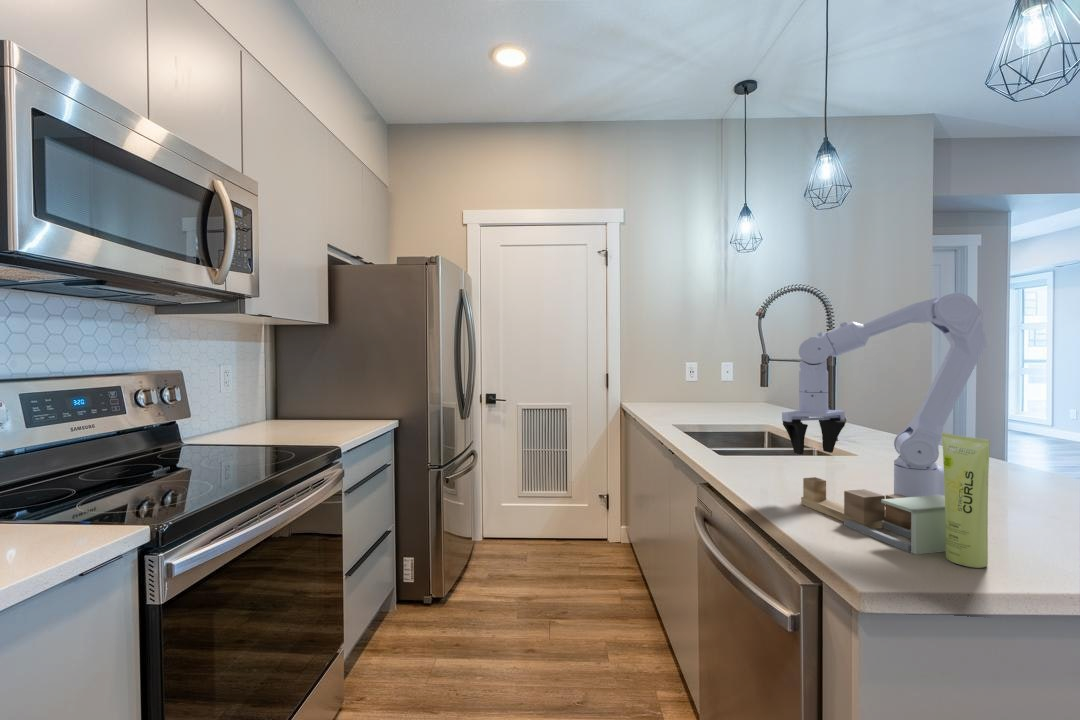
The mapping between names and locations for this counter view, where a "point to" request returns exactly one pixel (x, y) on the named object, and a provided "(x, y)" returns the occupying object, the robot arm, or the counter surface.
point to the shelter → (924, 521)
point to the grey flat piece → (883, 536)
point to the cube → (864, 505)
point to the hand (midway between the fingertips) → (813, 452)
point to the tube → (966, 499)
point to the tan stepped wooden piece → (827, 502)
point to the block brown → (897, 514)
